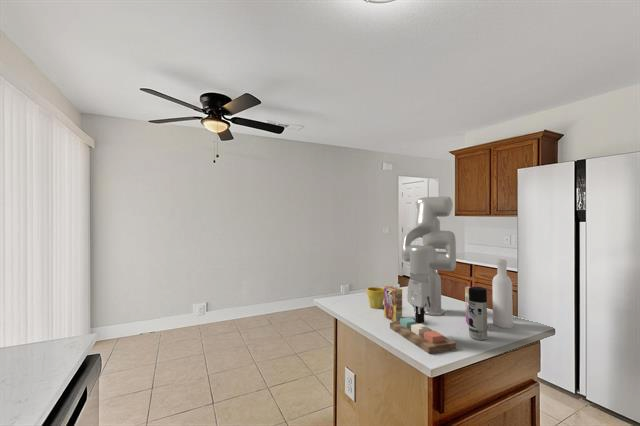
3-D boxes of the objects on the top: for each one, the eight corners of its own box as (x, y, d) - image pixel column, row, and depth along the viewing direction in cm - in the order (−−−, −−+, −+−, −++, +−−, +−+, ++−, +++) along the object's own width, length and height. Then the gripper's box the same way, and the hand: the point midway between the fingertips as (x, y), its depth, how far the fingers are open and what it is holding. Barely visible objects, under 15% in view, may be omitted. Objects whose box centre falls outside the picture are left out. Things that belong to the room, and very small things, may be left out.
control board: (389, 328, 129) (389, 322, 129) (412, 325, 132) (412, 319, 133) (429, 353, 104) (429, 347, 104) (456, 349, 108) (455, 342, 108)
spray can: (465, 334, 122) (464, 286, 122) (480, 333, 122) (480, 286, 123) (475, 340, 115) (474, 290, 116) (491, 340, 116) (490, 290, 116)
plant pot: (388, 305, 162) (388, 288, 162) (381, 310, 153) (381, 292, 153) (371, 303, 167) (371, 286, 168) (363, 307, 159) (363, 289, 159)
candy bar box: (464, 320, 138) (464, 286, 139) (476, 321, 137) (476, 286, 137) (469, 329, 128) (469, 291, 128) (482, 330, 126) (482, 292, 126)
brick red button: (423, 339, 112) (423, 332, 112) (434, 338, 114) (434, 330, 114) (432, 345, 108) (432, 337, 108) (443, 343, 109) (443, 335, 109)
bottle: (513, 329, 127) (512, 261, 128) (492, 326, 131) (491, 259, 132) (512, 324, 134) (511, 259, 134) (492, 320, 138) (491, 257, 139)
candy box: (402, 321, 138) (402, 288, 138) (395, 322, 136) (395, 289, 136) (390, 315, 146) (390, 285, 146) (383, 316, 144) (383, 285, 144)
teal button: (399, 325, 127) (399, 318, 128) (409, 324, 129) (409, 317, 129) (406, 329, 123) (406, 322, 123) (416, 328, 124) (416, 321, 124)
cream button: (411, 332, 120) (411, 325, 120) (421, 330, 121) (421, 323, 122) (418, 336, 115) (418, 329, 115) (429, 335, 117) (429, 327, 117)
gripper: (401, 274, 125) (401, 318, 124) (423, 281, 110) (424, 330, 110) (415, 274, 127) (415, 316, 126) (440, 280, 113) (440, 328, 112)
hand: (419, 322), depth 118 cm, fingers closed
